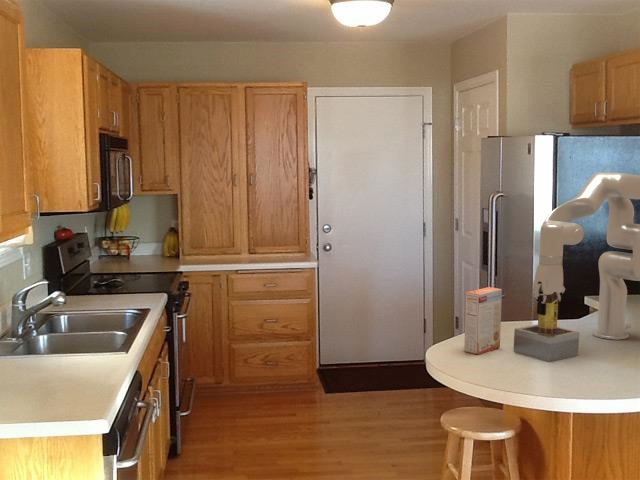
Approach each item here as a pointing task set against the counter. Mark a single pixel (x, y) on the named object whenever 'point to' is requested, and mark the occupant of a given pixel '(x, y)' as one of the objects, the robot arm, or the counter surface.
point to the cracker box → (482, 320)
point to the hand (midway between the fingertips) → (547, 312)
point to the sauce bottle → (549, 315)
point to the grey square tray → (546, 343)
